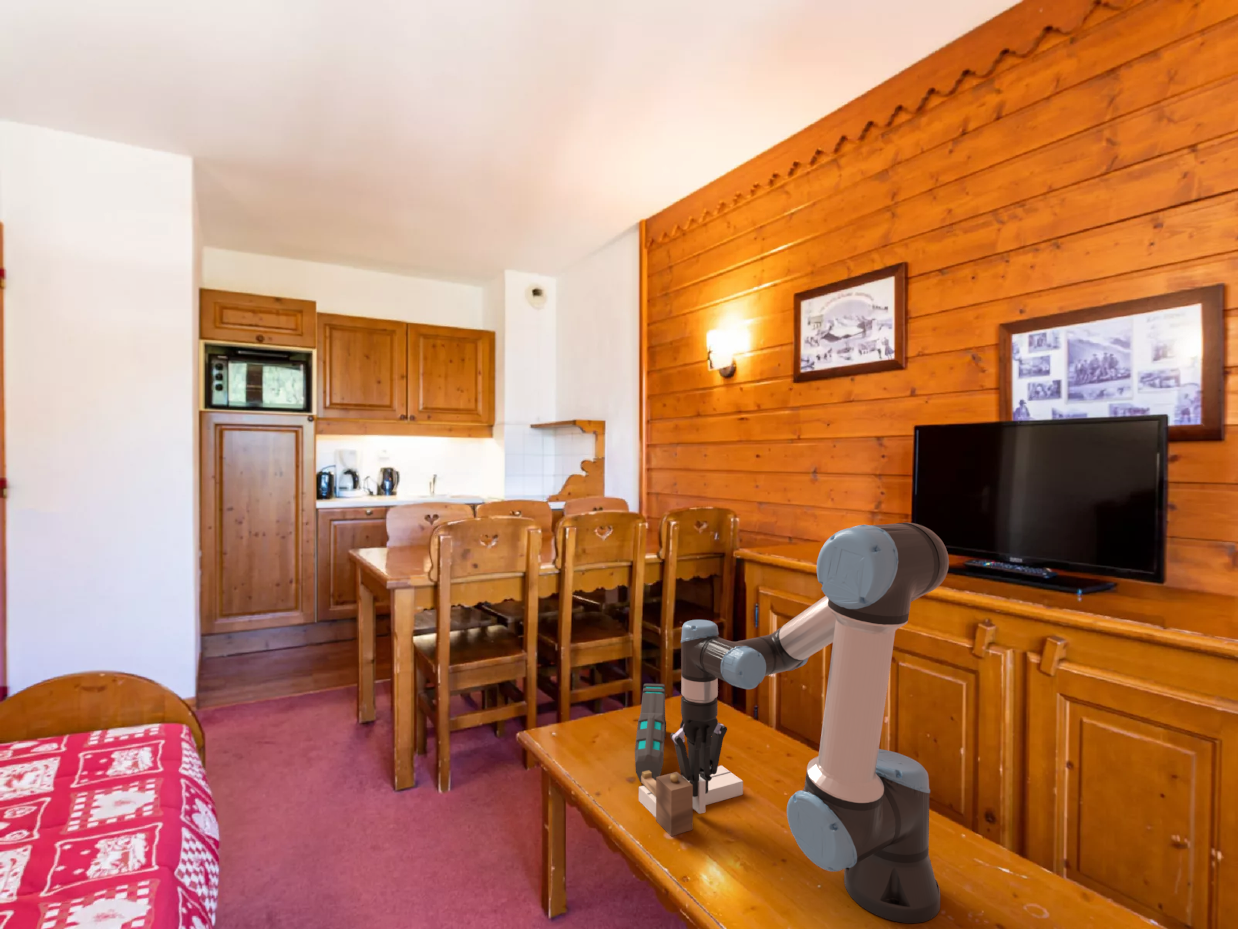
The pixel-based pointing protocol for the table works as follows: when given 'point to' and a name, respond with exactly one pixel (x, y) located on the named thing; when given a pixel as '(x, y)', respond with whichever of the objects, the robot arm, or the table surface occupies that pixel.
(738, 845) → the table surface
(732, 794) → the board
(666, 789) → the brown wooden clamp
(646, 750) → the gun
